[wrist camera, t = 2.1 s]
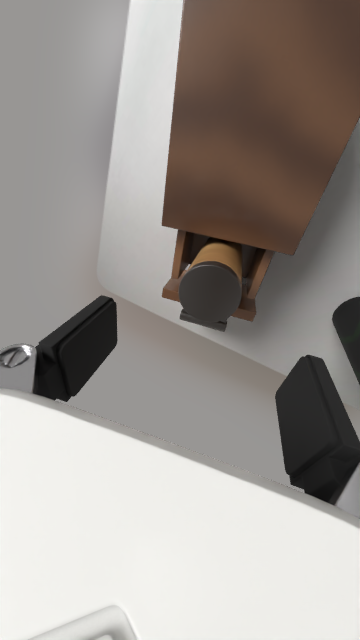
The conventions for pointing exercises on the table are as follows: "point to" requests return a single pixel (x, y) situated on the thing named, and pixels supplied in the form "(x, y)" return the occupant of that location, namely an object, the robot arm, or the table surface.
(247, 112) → the cabinet
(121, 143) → the table surface
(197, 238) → the drawer
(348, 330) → the cup
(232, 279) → the pepper mill
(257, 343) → the table surface
